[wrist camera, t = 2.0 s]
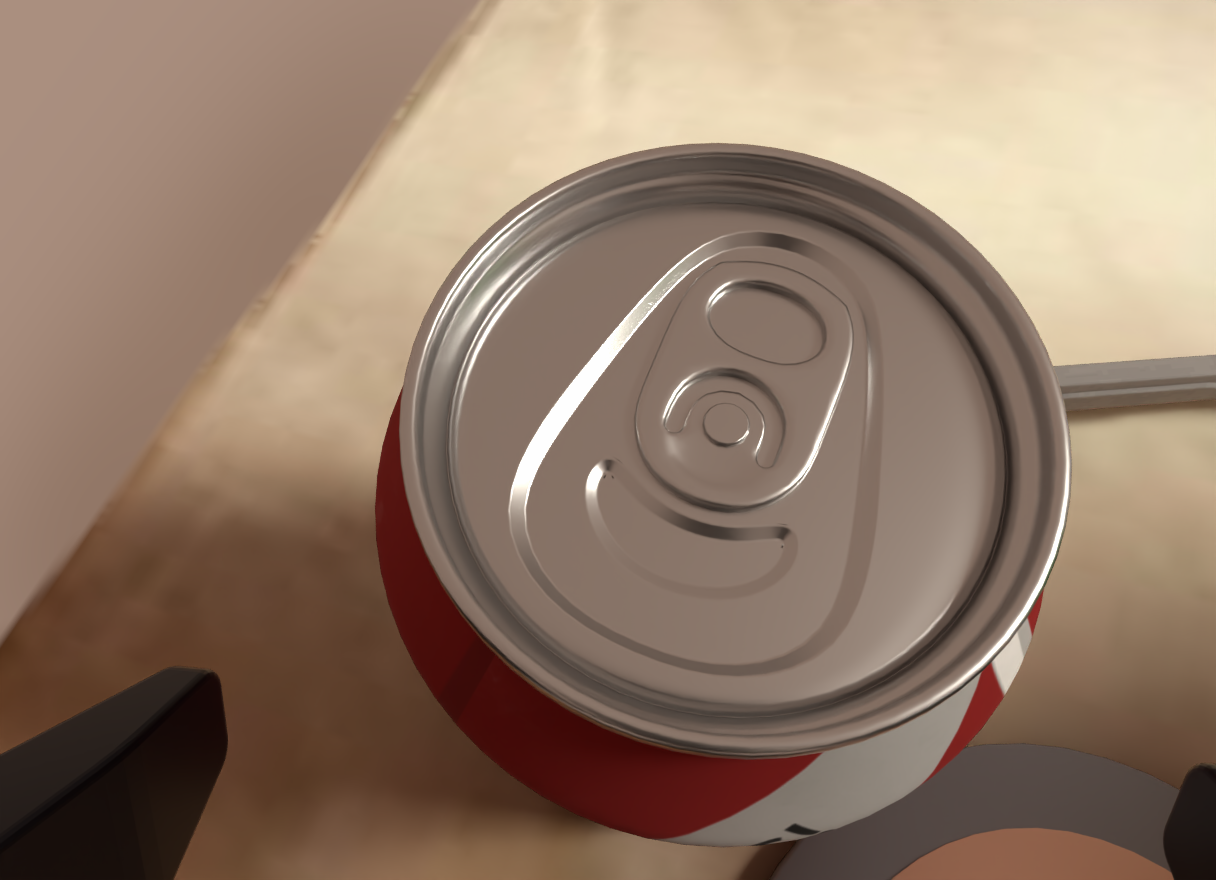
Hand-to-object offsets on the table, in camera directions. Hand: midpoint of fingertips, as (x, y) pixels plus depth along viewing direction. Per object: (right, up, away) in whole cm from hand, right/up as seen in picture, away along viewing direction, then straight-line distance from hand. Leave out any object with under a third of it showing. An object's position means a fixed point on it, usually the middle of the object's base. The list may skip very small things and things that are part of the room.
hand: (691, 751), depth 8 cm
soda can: (0, -2, +10) cm, 10 cm away
